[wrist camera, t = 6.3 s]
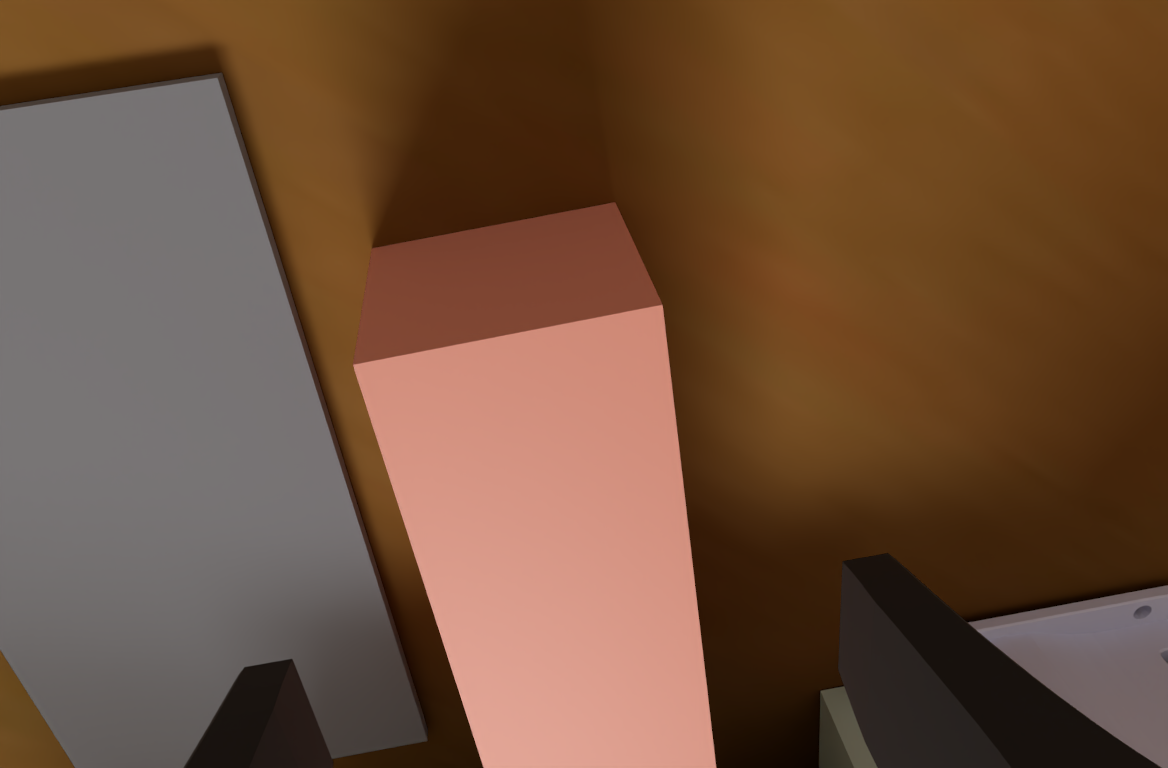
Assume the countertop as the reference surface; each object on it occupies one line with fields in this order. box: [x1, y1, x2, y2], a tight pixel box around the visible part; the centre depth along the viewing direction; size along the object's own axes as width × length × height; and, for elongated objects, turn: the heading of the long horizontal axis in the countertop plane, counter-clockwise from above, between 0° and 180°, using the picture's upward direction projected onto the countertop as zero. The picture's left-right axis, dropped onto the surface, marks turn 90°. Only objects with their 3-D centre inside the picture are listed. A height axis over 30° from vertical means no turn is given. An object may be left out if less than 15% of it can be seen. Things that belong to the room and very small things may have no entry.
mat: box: [0, 73, 428, 768], centre depth 21 cm, size 9×18×1 cm, turn 7°
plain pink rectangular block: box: [353, 202, 716, 768], centre depth 20 cm, size 5×13×5 cm, turn 8°
